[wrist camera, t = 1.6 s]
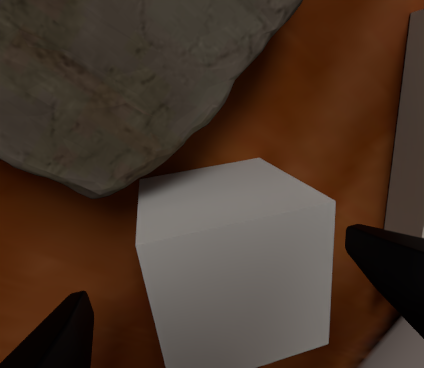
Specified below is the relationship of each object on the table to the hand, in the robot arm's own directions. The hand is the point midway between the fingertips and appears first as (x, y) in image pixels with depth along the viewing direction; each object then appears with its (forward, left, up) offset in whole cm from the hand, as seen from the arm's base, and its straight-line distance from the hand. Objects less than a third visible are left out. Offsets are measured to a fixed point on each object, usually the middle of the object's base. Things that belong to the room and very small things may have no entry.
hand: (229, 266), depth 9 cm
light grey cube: (0, 0, -3) cm, 3 cm away
